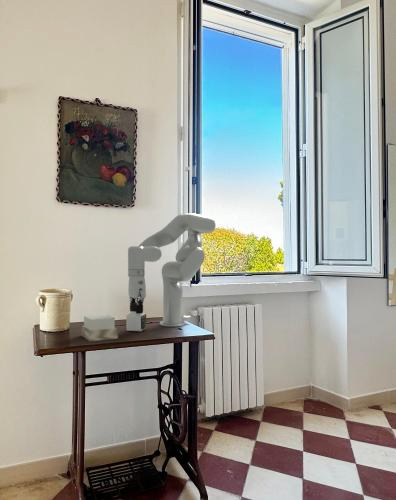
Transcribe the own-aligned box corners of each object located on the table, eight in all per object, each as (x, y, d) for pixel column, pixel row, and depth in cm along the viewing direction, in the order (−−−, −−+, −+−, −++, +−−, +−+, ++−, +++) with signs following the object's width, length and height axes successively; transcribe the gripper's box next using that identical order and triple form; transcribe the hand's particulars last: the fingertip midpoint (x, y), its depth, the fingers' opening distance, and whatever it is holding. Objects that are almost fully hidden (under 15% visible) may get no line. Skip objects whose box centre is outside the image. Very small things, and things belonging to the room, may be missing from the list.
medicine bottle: (141, 331, 173) (141, 304, 173) (126, 330, 174) (126, 304, 174) (146, 328, 180) (146, 302, 180) (132, 327, 181) (132, 302, 181)
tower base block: (108, 333, 172) (109, 323, 172) (117, 339, 162) (118, 328, 162) (81, 336, 166) (81, 326, 166) (89, 342, 156) (89, 331, 156)
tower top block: (106, 324, 170) (106, 314, 171) (114, 328, 162) (114, 317, 162) (83, 326, 165) (84, 316, 165) (91, 330, 157) (91, 319, 157)
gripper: (151, 274, 171) (151, 314, 172) (136, 271, 186) (136, 308, 186) (136, 274, 167) (136, 315, 168) (121, 272, 182) (121, 310, 182)
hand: (136, 311), depth 177 cm, fingers closed on medicine bottle, 6 cm apart
